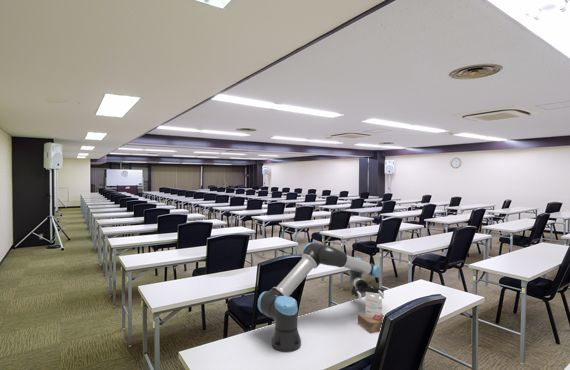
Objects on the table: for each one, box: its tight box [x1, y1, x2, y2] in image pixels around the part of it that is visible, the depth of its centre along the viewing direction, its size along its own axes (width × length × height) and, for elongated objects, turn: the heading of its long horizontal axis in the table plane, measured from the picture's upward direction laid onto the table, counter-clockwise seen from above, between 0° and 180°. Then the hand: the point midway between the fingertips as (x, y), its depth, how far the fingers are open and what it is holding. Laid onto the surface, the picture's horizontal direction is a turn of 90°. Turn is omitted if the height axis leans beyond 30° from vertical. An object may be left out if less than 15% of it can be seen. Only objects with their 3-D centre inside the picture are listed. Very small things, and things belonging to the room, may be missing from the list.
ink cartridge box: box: [364, 292, 383, 320], centre depth 185 cm, size 9×5×15 cm, turn 57°
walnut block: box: [357, 312, 384, 334], centre depth 186 cm, size 13×13×6 cm
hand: (371, 296), depth 190 cm, fingers open, 13 cm apart
